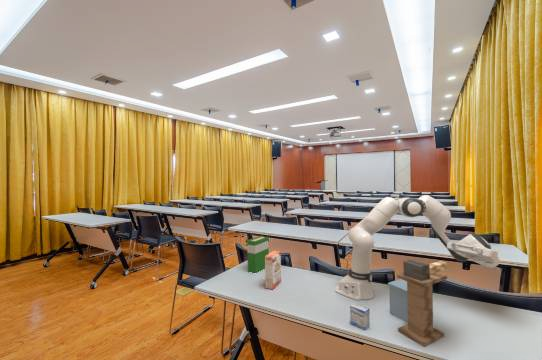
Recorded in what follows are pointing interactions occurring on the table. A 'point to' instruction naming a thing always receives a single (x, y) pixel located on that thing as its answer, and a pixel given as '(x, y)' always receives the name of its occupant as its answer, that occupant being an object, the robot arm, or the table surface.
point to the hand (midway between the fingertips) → (461, 246)
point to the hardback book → (257, 253)
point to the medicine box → (359, 316)
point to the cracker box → (272, 269)
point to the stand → (421, 309)
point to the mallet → (422, 269)
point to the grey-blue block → (398, 299)
